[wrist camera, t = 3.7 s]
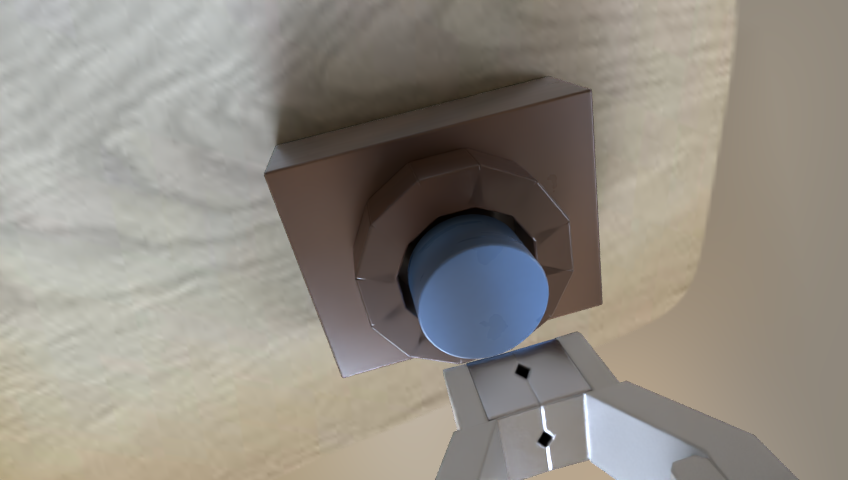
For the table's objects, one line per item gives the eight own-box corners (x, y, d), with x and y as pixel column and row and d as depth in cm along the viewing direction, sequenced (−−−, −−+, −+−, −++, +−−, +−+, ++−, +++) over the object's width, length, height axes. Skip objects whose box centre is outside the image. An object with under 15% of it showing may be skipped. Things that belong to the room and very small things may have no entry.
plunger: (515, 199, 14) (543, 228, 12) (528, 300, 16) (555, 339, 14) (394, 231, 14) (404, 265, 12) (421, 330, 15) (433, 374, 14)
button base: (550, 75, 17) (625, 98, 13) (566, 264, 21) (630, 334, 16) (274, 145, 17) (253, 195, 12) (340, 327, 20) (343, 417, 16)
